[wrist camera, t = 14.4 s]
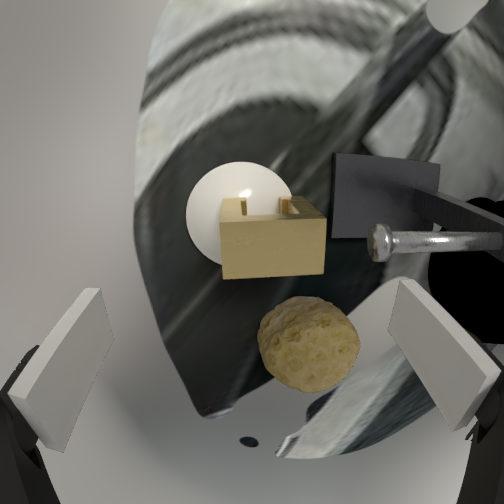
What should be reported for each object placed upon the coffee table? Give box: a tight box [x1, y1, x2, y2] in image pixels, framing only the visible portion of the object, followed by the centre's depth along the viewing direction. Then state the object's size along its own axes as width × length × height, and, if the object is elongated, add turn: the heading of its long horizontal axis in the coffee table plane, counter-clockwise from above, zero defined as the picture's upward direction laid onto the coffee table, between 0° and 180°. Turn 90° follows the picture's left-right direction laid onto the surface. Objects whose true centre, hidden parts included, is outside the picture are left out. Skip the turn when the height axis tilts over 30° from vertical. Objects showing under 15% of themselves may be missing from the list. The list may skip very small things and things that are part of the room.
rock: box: [257, 296, 360, 393], centre depth 30 cm, size 10×11×10 cm
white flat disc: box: [186, 162, 292, 265], centre depth 28 cm, size 10×10×1 cm
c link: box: [219, 196, 327, 279], centre depth 24 cm, size 7×4×8 cm, turn 92°
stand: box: [329, 153, 504, 263], centre depth 20 cm, size 8×14×17 cm, turn 90°
